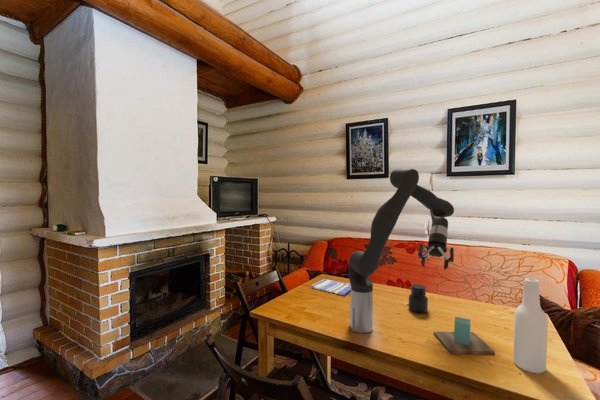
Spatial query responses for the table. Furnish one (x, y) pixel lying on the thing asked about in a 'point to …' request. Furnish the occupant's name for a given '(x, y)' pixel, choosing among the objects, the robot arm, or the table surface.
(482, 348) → the post board
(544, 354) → the alcohol
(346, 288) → the dish towel
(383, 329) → the table surface
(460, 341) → the tall teal pillar
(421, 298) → the ink bottle
